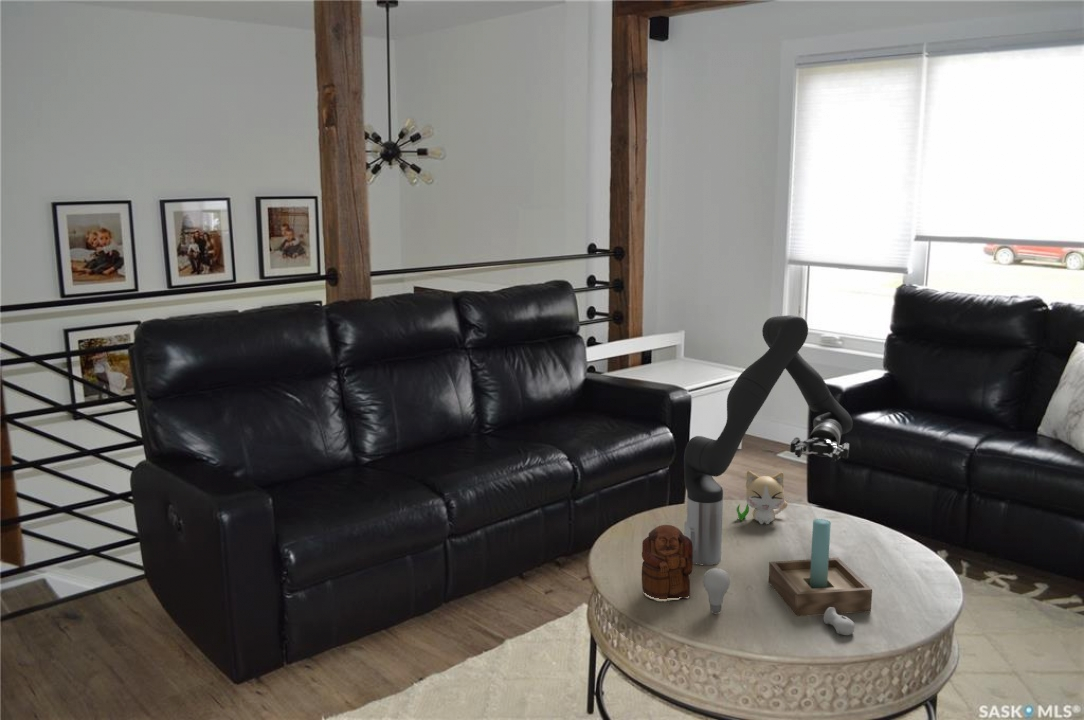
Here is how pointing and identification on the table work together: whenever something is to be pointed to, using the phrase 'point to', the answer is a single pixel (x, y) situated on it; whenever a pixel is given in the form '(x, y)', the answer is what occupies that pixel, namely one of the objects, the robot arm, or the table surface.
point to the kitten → (764, 497)
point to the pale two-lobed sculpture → (838, 622)
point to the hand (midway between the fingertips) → (816, 455)
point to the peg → (820, 553)
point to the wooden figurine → (666, 563)
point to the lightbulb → (716, 587)
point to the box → (803, 600)
